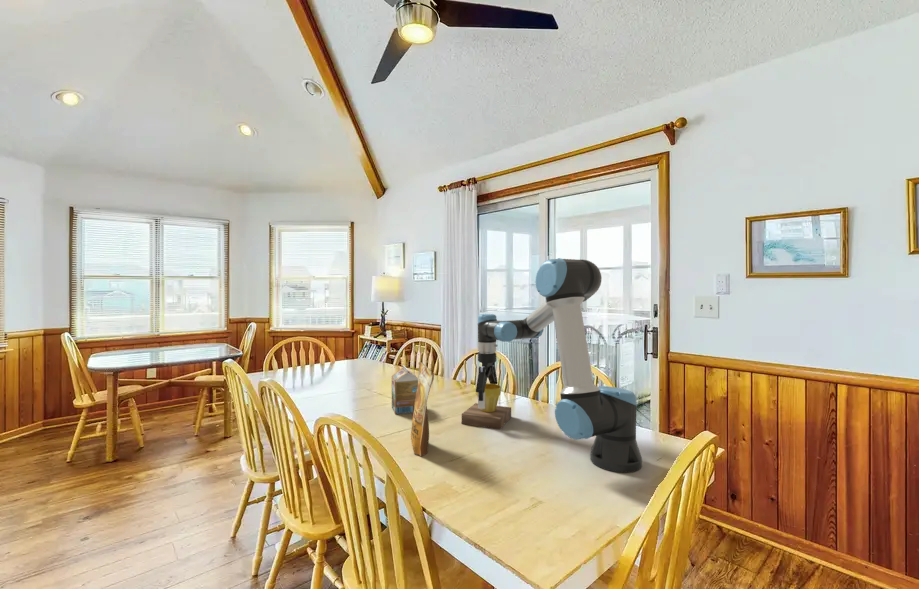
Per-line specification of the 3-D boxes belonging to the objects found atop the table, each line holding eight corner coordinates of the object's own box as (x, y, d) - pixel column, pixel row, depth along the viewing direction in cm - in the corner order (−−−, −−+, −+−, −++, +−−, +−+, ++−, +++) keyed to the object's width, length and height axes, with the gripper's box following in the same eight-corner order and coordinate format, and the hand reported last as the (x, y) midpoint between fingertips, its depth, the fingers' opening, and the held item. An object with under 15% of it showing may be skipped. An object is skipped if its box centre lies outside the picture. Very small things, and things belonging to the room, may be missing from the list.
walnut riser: (500, 429, 162) (500, 418, 161) (461, 423, 168) (461, 413, 167) (511, 416, 176) (511, 407, 176) (475, 412, 182) (475, 403, 182)
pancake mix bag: (427, 436, 154) (427, 360, 153) (434, 457, 135) (434, 370, 135) (409, 437, 153) (409, 360, 152) (413, 459, 134) (413, 371, 133)
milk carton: (391, 407, 190) (391, 365, 189) (414, 405, 193) (414, 364, 192) (395, 414, 180) (395, 370, 179) (419, 412, 183) (419, 368, 182)
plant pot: (500, 406, 178) (501, 383, 177) (500, 413, 167) (500, 389, 167) (476, 405, 179) (476, 382, 179) (474, 413, 169) (474, 388, 168)
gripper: (486, 357, 158) (486, 413, 159) (504, 348, 181) (504, 397, 182) (467, 356, 161) (467, 411, 162) (488, 347, 184) (487, 395, 185)
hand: (487, 404), depth 172 cm, fingers open, 13 cm apart
